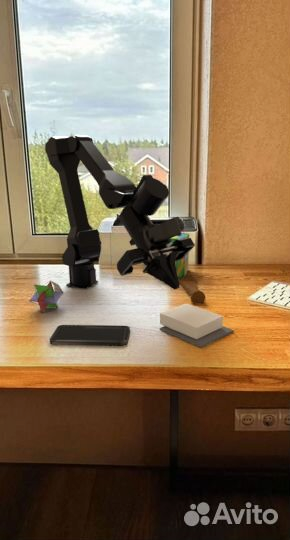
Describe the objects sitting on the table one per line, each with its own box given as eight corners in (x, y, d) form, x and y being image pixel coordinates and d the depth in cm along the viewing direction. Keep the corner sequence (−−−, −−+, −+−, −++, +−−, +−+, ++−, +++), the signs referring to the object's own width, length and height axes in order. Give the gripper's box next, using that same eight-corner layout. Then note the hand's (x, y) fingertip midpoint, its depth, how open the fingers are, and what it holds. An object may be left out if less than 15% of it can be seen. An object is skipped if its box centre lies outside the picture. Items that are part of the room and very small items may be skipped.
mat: (160, 329, 84) (159, 328, 84) (192, 316, 90) (192, 314, 90) (201, 348, 76) (201, 346, 76) (233, 331, 82) (233, 330, 82)
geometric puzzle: (48, 310, 89) (57, 276, 91) (20, 307, 91) (30, 273, 93) (62, 318, 95) (70, 286, 98) (36, 315, 97) (44, 284, 100)
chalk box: (153, 277, 118) (153, 226, 114) (159, 268, 127) (159, 220, 122) (185, 279, 116) (186, 227, 112) (189, 269, 125) (190, 221, 120)
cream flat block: (159, 313, 84) (197, 327, 77) (185, 303, 89) (222, 316, 82) (159, 325, 85) (196, 340, 78) (185, 314, 90) (222, 328, 83)
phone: (126, 342, 77) (47, 341, 78) (126, 348, 77) (48, 346, 78) (130, 325, 84) (58, 324, 85) (130, 330, 85) (59, 329, 86)
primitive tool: (175, 281, 116) (175, 269, 115) (194, 280, 116) (194, 268, 115) (191, 306, 97) (191, 292, 96) (213, 305, 98) (214, 291, 97)
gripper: (123, 210, 78) (165, 277, 73) (189, 201, 90) (228, 258, 85) (101, 244, 86) (136, 307, 81) (164, 231, 98) (198, 285, 93)
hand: (177, 288), depth 85 cm, fingers closed
